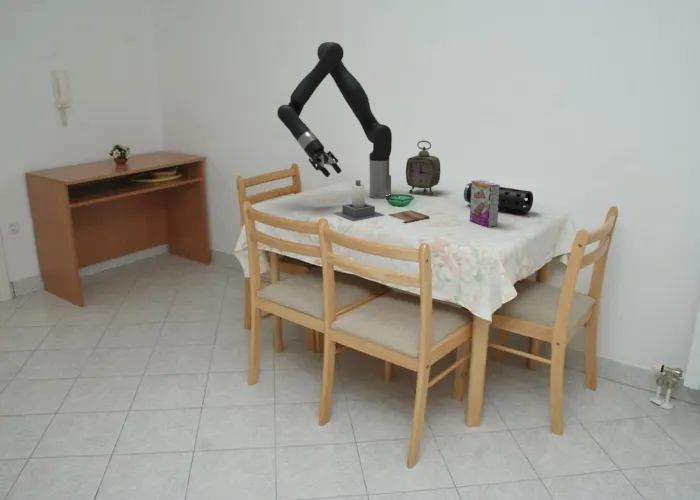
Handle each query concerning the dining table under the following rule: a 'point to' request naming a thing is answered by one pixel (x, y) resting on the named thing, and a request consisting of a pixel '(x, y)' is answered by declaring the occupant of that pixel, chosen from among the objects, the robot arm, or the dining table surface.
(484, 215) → the candy bar box
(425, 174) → the tabletop clock
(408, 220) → the walnut board
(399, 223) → the dining table surface
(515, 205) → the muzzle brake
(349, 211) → the socket block
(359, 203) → the bottle
